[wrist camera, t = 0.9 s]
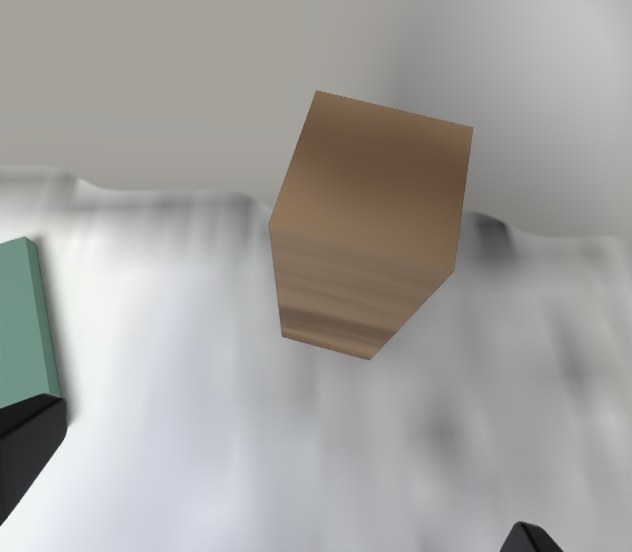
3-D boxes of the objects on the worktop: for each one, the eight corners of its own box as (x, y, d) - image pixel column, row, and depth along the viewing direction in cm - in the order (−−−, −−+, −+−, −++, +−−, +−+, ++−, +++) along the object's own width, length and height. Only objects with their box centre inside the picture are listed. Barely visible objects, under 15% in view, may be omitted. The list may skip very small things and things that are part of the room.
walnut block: (369, 360, 22) (453, 270, 10) (282, 336, 22) (268, 223, 10) (385, 279, 24) (473, 127, 12) (305, 258, 24) (316, 90, 12)
